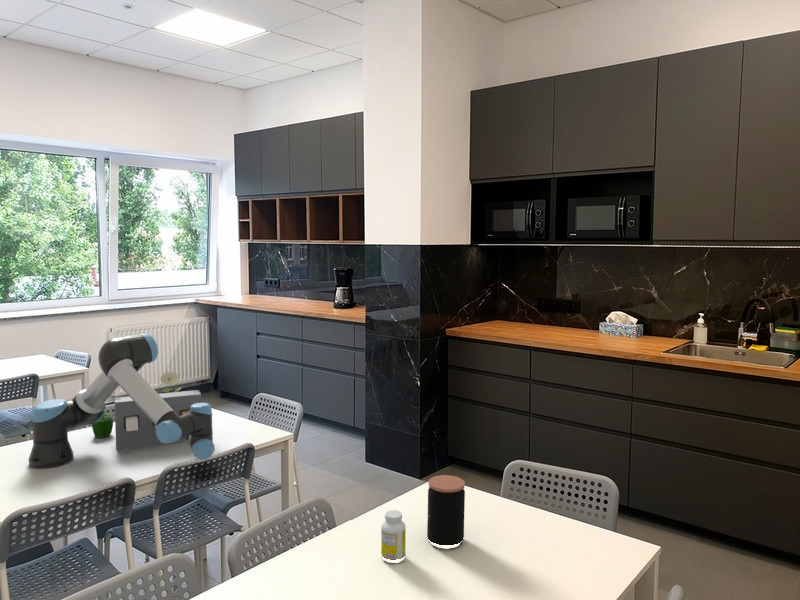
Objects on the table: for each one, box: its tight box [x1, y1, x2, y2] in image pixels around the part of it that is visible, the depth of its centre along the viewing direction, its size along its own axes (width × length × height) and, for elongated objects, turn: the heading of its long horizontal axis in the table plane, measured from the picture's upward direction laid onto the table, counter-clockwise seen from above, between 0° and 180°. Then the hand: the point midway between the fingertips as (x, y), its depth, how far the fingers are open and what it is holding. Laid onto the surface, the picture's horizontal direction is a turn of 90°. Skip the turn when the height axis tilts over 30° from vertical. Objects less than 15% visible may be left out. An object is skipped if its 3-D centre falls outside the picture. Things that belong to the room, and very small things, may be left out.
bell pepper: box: [91, 413, 114, 438], centre depth 264 cm, size 8×8×10 cm
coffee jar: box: [426, 474, 466, 545], centre depth 174 cm, size 11×11×18 cm
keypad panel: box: [113, 389, 202, 451], centre depth 257 cm, size 34×8×20 cm, turn 117°
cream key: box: [125, 415, 138, 431], centre depth 247 cm, size 4×7×4 cm, turn 27°
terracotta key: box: [181, 409, 190, 415], centre depth 257 cm, size 4×7×4 cm, turn 27°
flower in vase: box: [159, 371, 182, 393], centre depth 283 cm, size 13×11×25 cm
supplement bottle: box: [380, 509, 406, 560], centre depth 164 cm, size 7×7×13 cm
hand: (190, 422), depth 248 cm, fingers closed
